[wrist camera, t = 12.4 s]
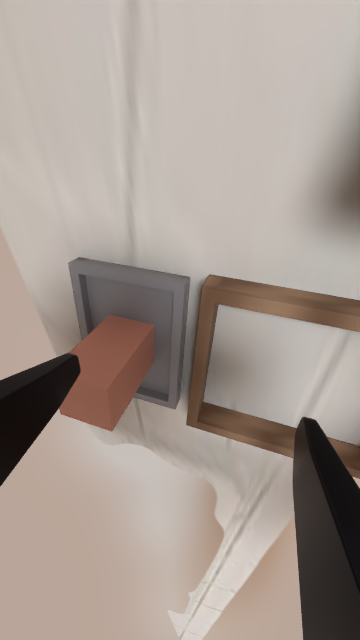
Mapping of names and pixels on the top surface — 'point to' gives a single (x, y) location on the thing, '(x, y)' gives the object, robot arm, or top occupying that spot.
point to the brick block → (109, 371)
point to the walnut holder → (275, 303)
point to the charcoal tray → (138, 316)
